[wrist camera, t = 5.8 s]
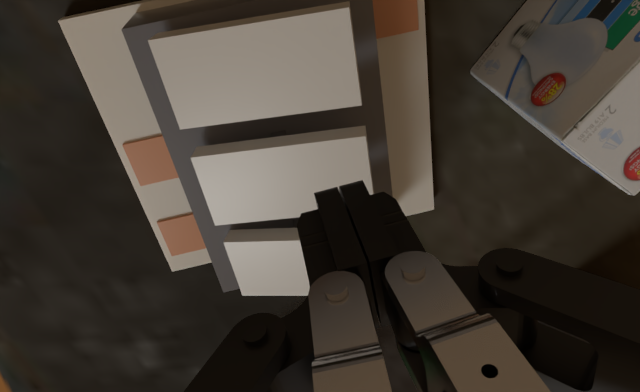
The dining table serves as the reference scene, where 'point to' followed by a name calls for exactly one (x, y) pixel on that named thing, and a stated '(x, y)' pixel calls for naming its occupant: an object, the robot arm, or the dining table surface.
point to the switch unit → (178, 145)
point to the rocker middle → (279, 173)
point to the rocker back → (268, 261)
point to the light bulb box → (575, 79)
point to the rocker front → (260, 66)
